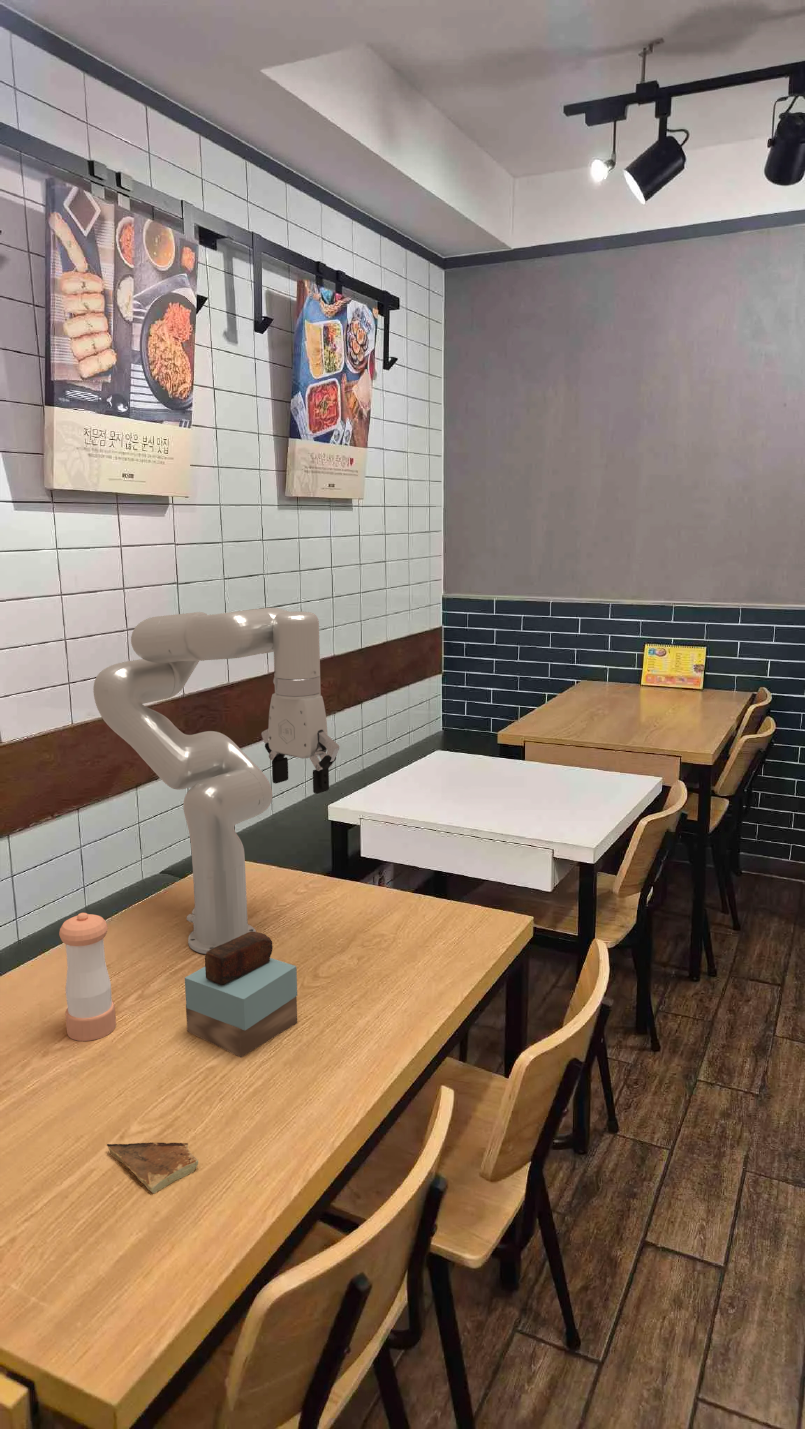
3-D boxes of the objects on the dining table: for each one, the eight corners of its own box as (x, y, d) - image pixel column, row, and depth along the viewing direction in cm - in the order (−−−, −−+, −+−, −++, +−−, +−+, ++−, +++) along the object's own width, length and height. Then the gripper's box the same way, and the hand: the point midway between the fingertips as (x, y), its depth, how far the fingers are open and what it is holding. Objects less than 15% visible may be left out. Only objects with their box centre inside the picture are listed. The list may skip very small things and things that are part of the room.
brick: (223, 987, 138) (222, 958, 137) (205, 980, 140) (203, 951, 139) (273, 961, 146) (272, 933, 145) (255, 954, 149) (255, 927, 148)
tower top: (186, 1007, 142) (184, 977, 141) (240, 975, 152) (238, 947, 151) (245, 1030, 136) (243, 999, 135) (297, 995, 146) (296, 966, 145)
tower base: (187, 1033, 144) (185, 1004, 143) (244, 1002, 153) (243, 974, 152) (240, 1060, 137) (239, 1029, 136) (297, 1025, 146) (296, 996, 145)
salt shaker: (125, 1020, 147) (117, 907, 143) (96, 1044, 140) (87, 926, 136) (87, 1013, 149) (78, 901, 146) (56, 1036, 143) (46, 920, 139)
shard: (107, 1154, 117) (106, 1141, 116) (161, 1127, 122) (161, 1115, 121) (149, 1199, 109) (149, 1186, 109) (206, 1168, 114) (205, 1155, 114)
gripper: (245, 684, 156) (249, 782, 160) (319, 696, 145) (321, 801, 149) (278, 678, 162) (281, 773, 165) (351, 689, 151) (353, 790, 155)
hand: (300, 786), depth 157 cm, fingers open, 9 cm apart
